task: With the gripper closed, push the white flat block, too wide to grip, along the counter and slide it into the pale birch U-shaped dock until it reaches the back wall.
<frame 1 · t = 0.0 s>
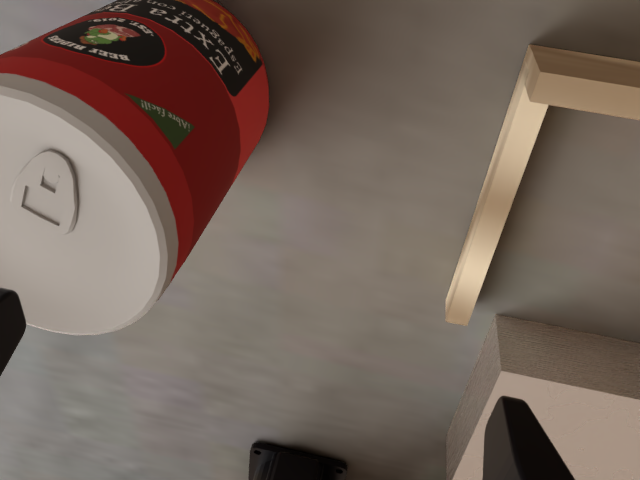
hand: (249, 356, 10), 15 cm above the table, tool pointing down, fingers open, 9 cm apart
white flat block: (551, 393, 30), on the table
canned food: (187, 82, 23), on the table
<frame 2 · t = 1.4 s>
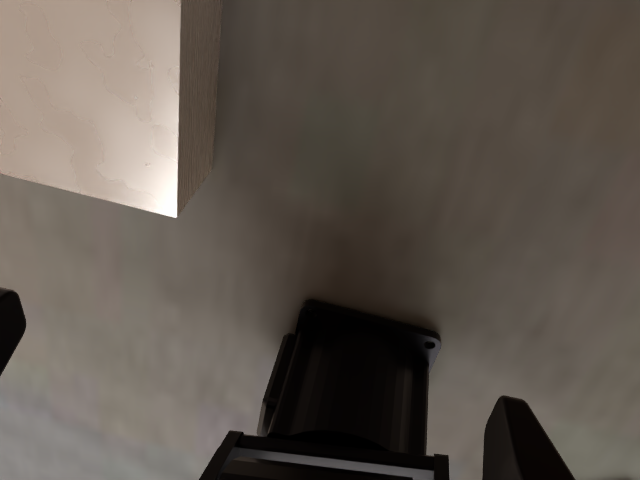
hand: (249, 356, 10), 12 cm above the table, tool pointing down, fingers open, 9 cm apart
white flat block: (89, 25, 20), on the table
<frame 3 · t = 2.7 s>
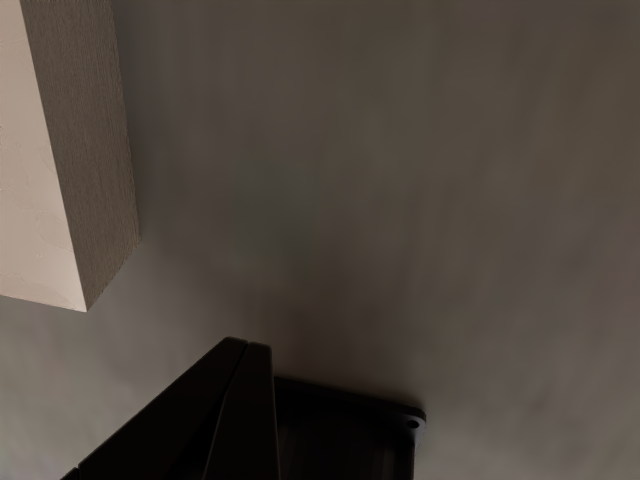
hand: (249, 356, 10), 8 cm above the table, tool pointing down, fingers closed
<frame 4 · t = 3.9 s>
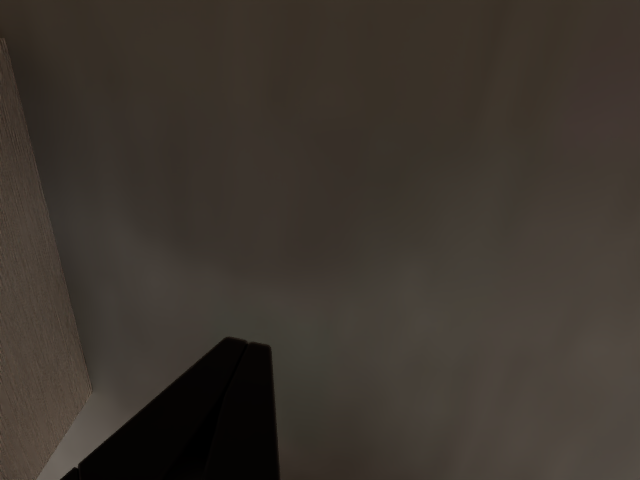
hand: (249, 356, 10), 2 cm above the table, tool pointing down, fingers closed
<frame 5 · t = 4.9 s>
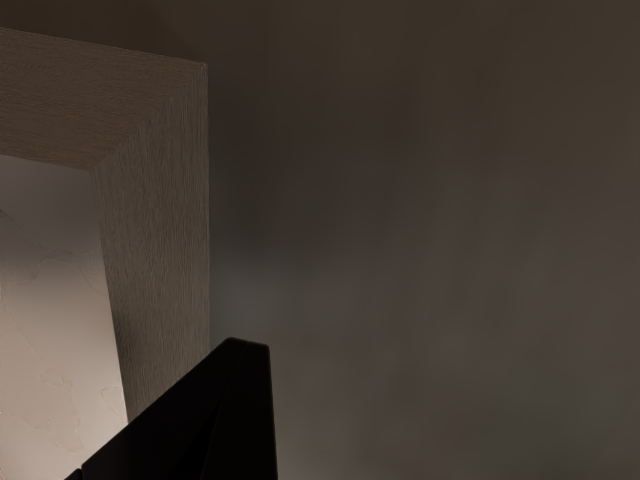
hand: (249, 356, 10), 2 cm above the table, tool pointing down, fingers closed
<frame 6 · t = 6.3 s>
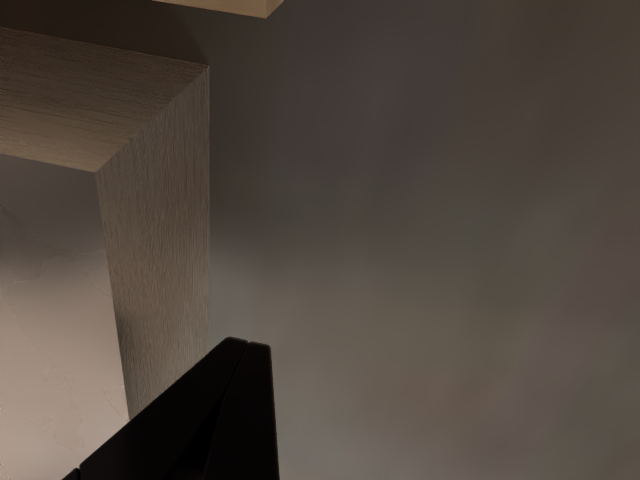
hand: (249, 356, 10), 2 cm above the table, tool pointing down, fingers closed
birch dock: (11, 248, 12), on the table
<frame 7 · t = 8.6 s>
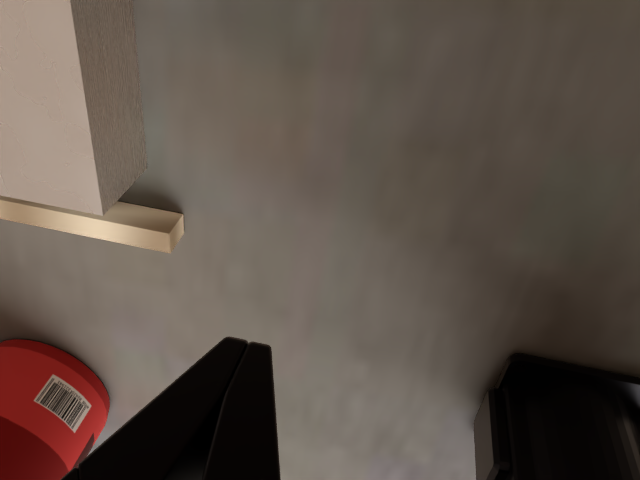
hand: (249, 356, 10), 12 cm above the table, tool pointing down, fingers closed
white flat block: (14, 34, 21), on the table
canned food: (52, 380, 33), on the table
birch dock: (28, 51, 21), on the table
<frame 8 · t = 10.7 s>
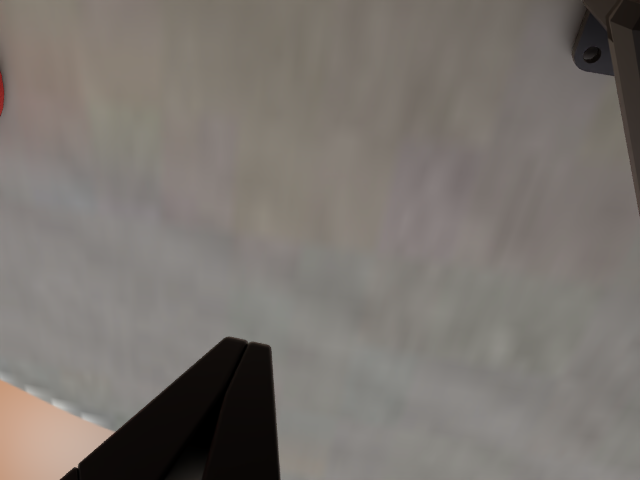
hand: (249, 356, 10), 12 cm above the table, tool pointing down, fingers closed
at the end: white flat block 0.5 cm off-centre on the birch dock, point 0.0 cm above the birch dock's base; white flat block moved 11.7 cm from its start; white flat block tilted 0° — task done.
